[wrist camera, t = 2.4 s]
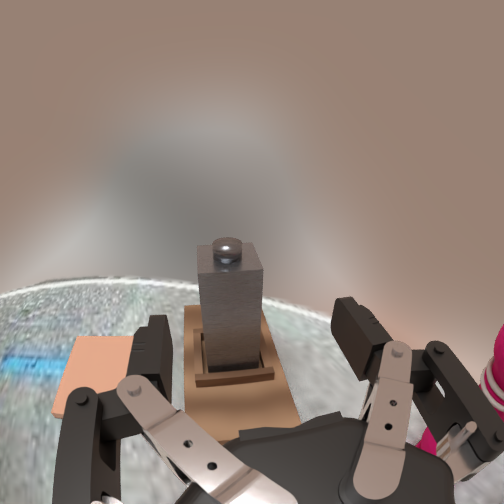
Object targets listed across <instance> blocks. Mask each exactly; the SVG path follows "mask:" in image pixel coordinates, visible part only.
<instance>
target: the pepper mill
mask: <svg viewBox="0 0 504 504" xmlns="http://www.w3.org/2000/svg"><path fill="white" fill-rule="evenodd" d="M479 387H480V389H481V390H482V391H483V393H484V394H485V396H486V397H487V398H488V400H489V401H490V403H491V404H492V406H493V407H494V409H495V410H496V412H497V413H498V415H499V416H500V418H501V419H502V421H503V422H504V324H503V326H502V328H501V329H500V331H499V334H498V336H497V338H496V340H495V345H494V356H493V357H492V358H491V359H490V360H489V362H488V364H487V366H486V367H485V368H484V370H483V371H482V374H481V380H480V385H479ZM436 446H437V443H436V441H435V439H434V438H433V436H432V434H431V432H430V430H429V428H428V426H427V428H426V429H425V431H424V433H423V435H422V439H421V441H420V442H419V443H418V444H417V445H416V447H418V448H420V449H422V450H424V451H426V452H429V453H431V454H433V455H437V454H436Z"/></svg>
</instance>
